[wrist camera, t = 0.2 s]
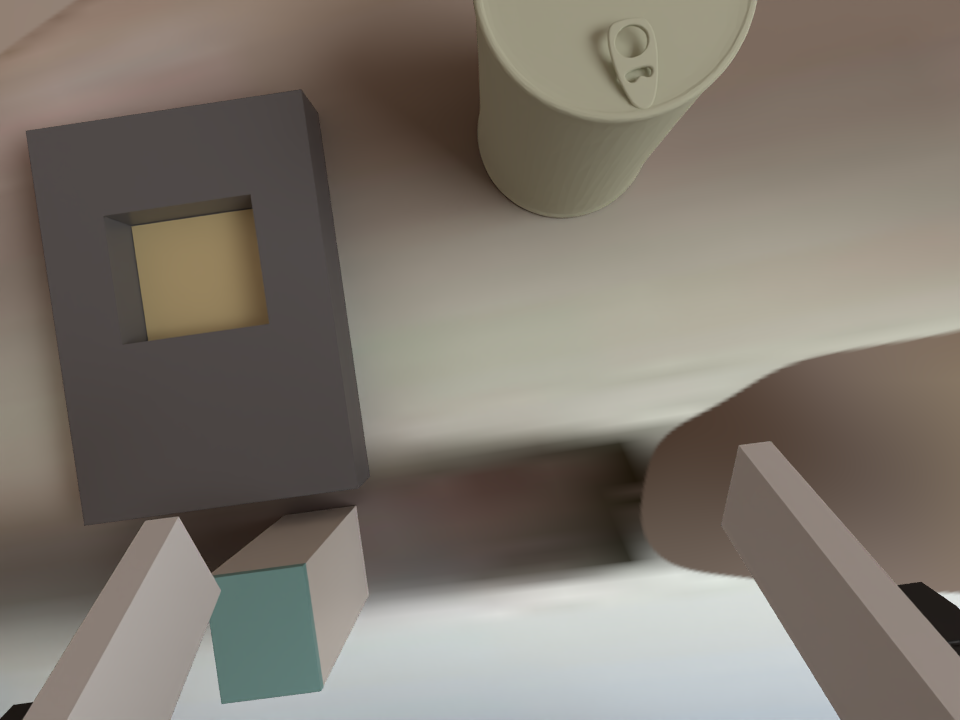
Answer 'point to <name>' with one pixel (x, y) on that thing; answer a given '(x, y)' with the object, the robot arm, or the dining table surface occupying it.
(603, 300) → the dining table surface
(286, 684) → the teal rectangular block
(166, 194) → the socket
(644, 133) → the can
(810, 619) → the robot arm
